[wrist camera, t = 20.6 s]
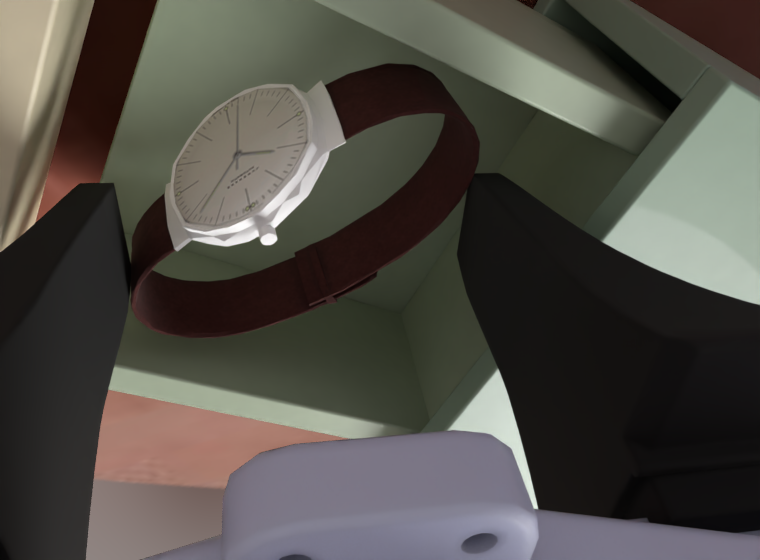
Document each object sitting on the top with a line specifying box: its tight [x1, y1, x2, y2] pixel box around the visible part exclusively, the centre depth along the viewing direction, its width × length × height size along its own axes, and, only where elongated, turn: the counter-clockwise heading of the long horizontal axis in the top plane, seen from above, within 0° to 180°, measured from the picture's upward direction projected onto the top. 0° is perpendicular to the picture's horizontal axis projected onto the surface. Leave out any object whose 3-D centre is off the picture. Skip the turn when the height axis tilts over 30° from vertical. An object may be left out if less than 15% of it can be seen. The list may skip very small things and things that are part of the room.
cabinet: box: [420, 0, 760, 509], centre depth 20 cm, size 13×12×8 cm
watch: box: [130, 63, 480, 338], centre depth 13 cm, size 8×5×4 cm, turn 122°
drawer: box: [0, 0, 672, 439], centre depth 14 cm, size 17×11×6 cm, turn 62°
